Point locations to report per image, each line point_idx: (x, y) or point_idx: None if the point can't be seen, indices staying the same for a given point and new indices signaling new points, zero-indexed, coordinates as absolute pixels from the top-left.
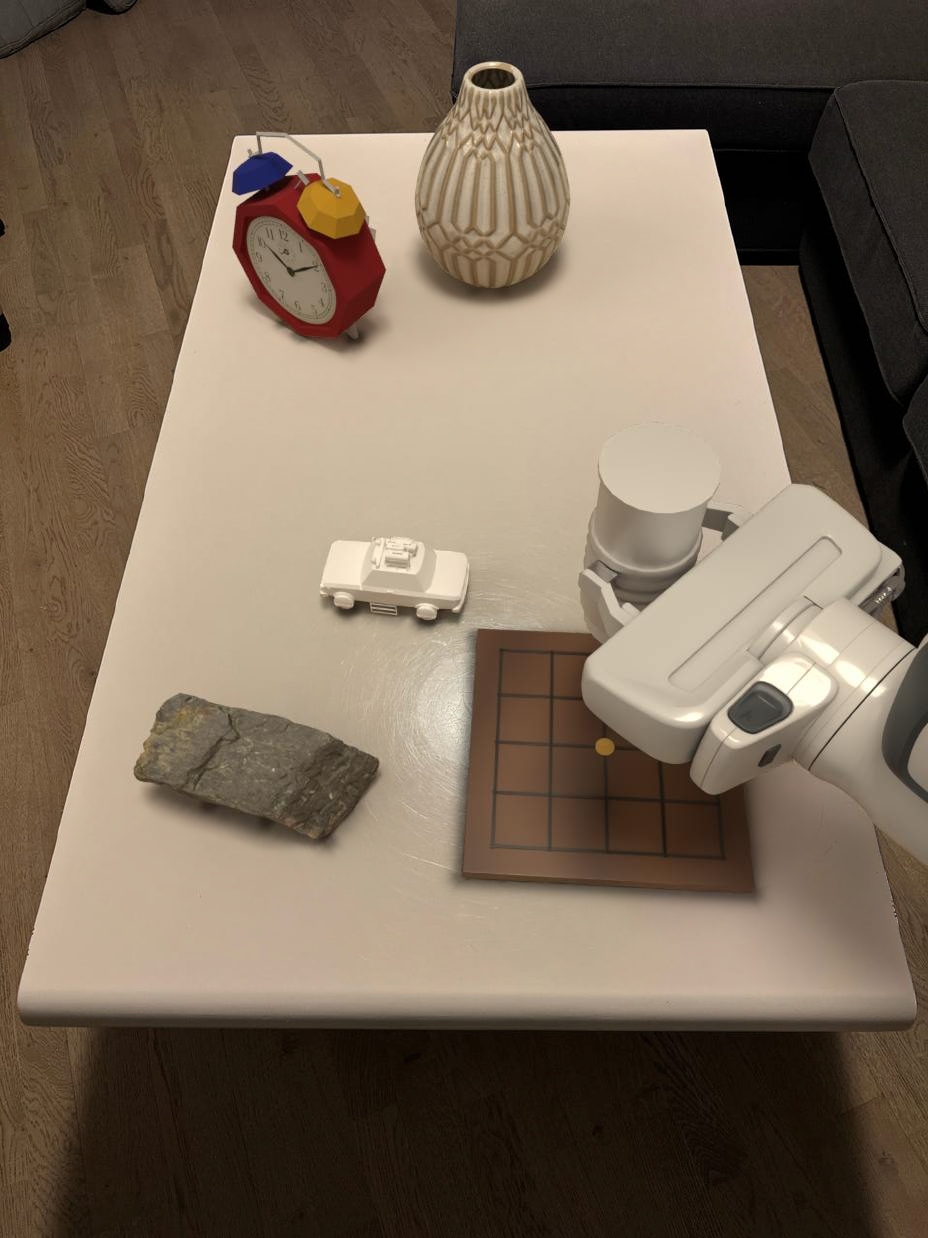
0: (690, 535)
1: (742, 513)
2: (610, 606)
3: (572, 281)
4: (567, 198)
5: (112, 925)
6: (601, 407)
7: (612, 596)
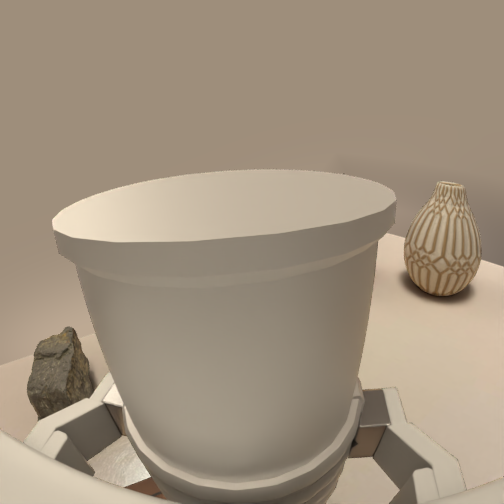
0: (191, 423)
1: (448, 477)
2: (53, 416)
3: (470, 306)
4: (477, 256)
5: (4, 380)
6: (448, 368)
7: (73, 413)
